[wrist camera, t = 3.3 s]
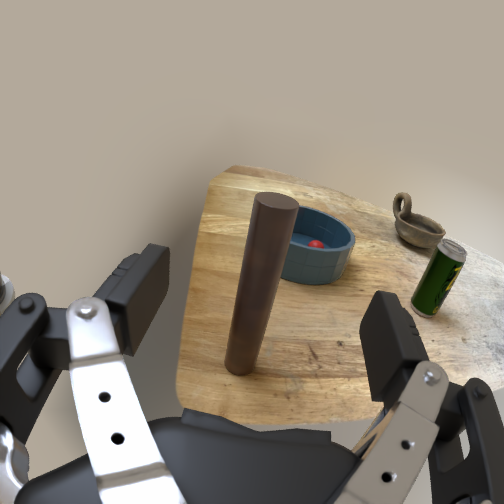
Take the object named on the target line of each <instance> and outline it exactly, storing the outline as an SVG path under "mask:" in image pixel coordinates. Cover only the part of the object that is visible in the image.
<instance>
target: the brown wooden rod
mask: <svg viewBox="0 0 504 504" xmlns="http://www.w3.org/2000/svg"><path fill="white" fill-rule="evenodd" d="M298 209H299V203H298V202H297V201H296V200H295V199H293V198H291V197H289V196H286V195H283V194H280V193H275V192H260V193H257V194H256V195H255V198H254V203H253V209H252V214H251V219H250V225H249V230H248V235H247V241H246V246H245V251H244V257H243V262H242V268H241V273H240V278H239V284H238V289H237V295H236V300H235V306H234V311H233V317H232V322H231V328H230V333H229V339H228V344H227V350H226V356H225V362H224V363H225V366H226V368H227V369H228V371H230V372H231V373H233V374H235V375H247V374H249V373H251V372H252V371H253V370H254V368H255V364H256V361H257V358H258V354H259V351H260V347H261V344H262V341H263V337H264V334H265V330H266V327H267V324H268V320H269V317H270V313H271V310H272V306H273V302H274V299H275V295H276V292H277V288H278V285H279V281H280V277H281V274H282V270H283V266H284V263H285V259H286V255H287V251H288V248H289V244H290V240H291V236H292V232H293V229H294V225H295V221H296V217H297V213H298Z"/></svg>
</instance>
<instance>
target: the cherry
mask: <svg viewBox="0 0 504 504" xmlns="http://www.w3.org/2000/svg"><path fill="white" fill-rule="evenodd" d="M307 246H310V247H316V248H323V249H324V245H323V244H322V243H321V242H320V241H318V240H313V241H311V242H310V243H309V244H308V245H307Z"/></svg>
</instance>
